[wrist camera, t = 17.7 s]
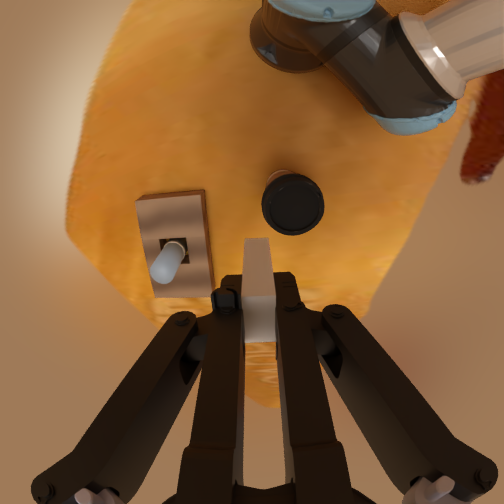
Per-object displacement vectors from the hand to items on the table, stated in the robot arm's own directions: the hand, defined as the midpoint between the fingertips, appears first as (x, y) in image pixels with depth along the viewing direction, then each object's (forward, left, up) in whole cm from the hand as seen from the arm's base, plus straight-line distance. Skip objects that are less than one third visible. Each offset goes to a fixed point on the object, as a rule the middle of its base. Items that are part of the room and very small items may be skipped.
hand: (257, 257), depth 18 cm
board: (+12, -15, -32) cm, 38 cm away
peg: (+12, -15, -32) cm, 38 cm away
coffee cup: (+2, +5, -33) cm, 33 cm away
